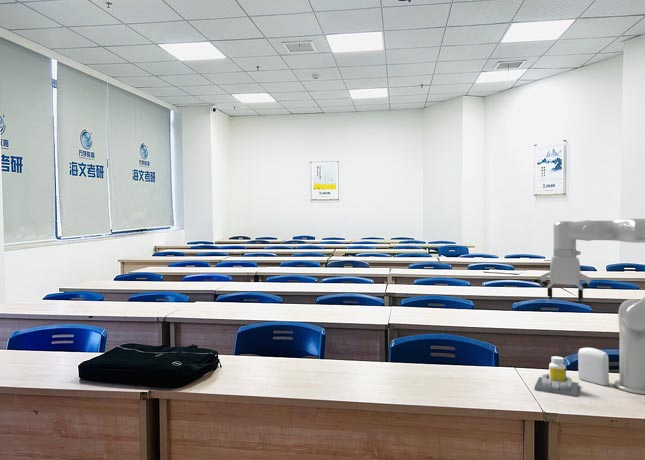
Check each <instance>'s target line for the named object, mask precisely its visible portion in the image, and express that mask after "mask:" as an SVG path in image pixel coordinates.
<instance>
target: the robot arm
mask: <svg viewBox="0 0 645 460" xmlns="http://www.w3.org/2000/svg"><path fill="white" fill-rule="evenodd" d="M577 240H579V241H585V242H588V241H589V242H590V241H592V242H593V241H613V242H614V241H615V242H624V243H636V244H637V243H639V244H641V243H642V244H643V243H644V244H645V218H625V219H619V220H591V219H590V220H589V219H588V220H580V221H571V220H570V221H569V220H567V221H566V220H565V221H562V220H561V221H560V220H559V221H555V222H554V223H553V256H552V257H551V259H550V265H549V266H550V268H549V272H546V273H545V274H542V275H540V276H539V279H540V281H541V283H542V285H544V286H545V287H546V289H547V297H549V300H552V299H553V288H552V286H553V285H571V286H572V285H575V286H576V287H577V288H578V291H577V294H578V295H577V297H578V299H577V300H578V301H579V302H581V300H582V299H584V290H585V289H586V288H587V287H588V286H589V284H590V283H591V282H592V278H591V277H589V276H587V275H586V274H583V273H581V264H580V260H579V257H577V256H581V250H577ZM547 277H549V283H548V281H546V278H547ZM581 279H584V280H585V282H584V283H583V284H581ZM618 326H619V327H618V328H619V333H618V334H619V345H618V347H619V348H618V349H619V350H618V351H619V379H618V380H615V381H614V386H615V388H617V389H619V390H621V391H624V392H628V393H633V394H638V395H645V297H643V298H641V299H637V298H630V299H627V300H624V301H623V302H622V303H621V304H620V305H619V308H618Z"/></svg>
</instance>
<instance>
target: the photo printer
mask: <svg viewBox="0 0 645 460" xmlns="http://www.w3.org/2000/svg"><path fill="white" fill-rule="evenodd" d="M577 359H578V361H577V363H578V364H577V365H578V366H577V369H578V371H577V372H578V374H577V375H578V379H579V380H581V381H586V382H590V383H593V384H597V385H601V386H608V385H609V383H610V379H609V378H610V376H609V373H610V370H609V367H610V366H609V355H608V353H607V352H605V351H603V350H601V349H597V348H594V347H582V348H579V350H578V352H577Z"/></svg>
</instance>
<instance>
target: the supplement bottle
mask: <svg viewBox="0 0 645 460" xmlns="http://www.w3.org/2000/svg"><path fill="white" fill-rule="evenodd" d="M550 360H551V362H550V363H549V365H548V369H549V370H548V372H549V373H548V374H549V379H550V380H554V381H566V376H567V373H566V372H567V367H566V364H564V363H565V358H564V357H561V356H558V355H557V356H556V355H555V356H551V359H550Z"/></svg>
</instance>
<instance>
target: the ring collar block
mask: <svg viewBox="0 0 645 460" xmlns="http://www.w3.org/2000/svg"><path fill="white" fill-rule="evenodd" d="M578 388H579V382H575V381H573V380H572V378H571V377H569V376H567V375H566V381H554V380H550V379H549V373H545V374H542V376H541V377H540V376H539V377H538V379H537V381H536V383H535V385H534V391H538V392H545V393H551V394H557V395H558V394H559V395H565V396H568V397H569V396H571V397H577V395H578Z"/></svg>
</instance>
